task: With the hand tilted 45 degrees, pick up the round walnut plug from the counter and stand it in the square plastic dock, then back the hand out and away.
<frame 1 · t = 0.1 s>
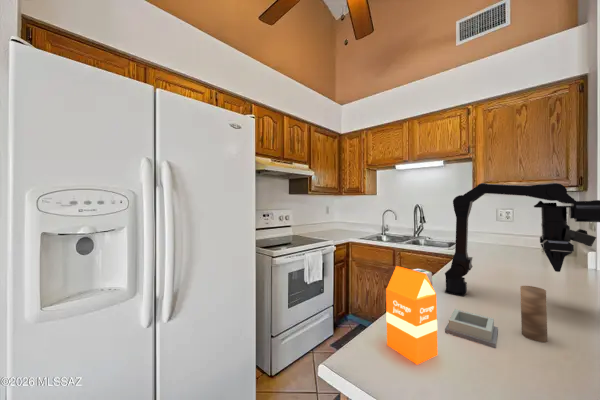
hand: (555, 268, 78), 15 cm above the countertop, tool pointing down, fingers open, 9 cm apart
walnut plug: (534, 336, 64), on the countertop
dock: (471, 331, 67), on the countertop
orange juice: (411, 350, 59), on the countertop
syrup box: (419, 315, 77), on the countertop
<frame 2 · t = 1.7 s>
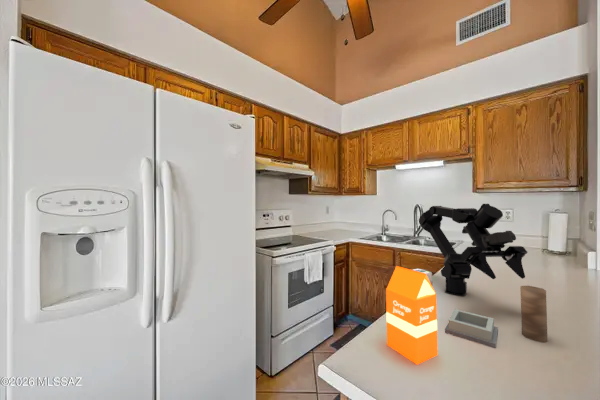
hand: (509, 278, 73), 13 cm above the countertop, tool tilted 45°, fingers open, 9 cm apart
nothing on the countertop moved.
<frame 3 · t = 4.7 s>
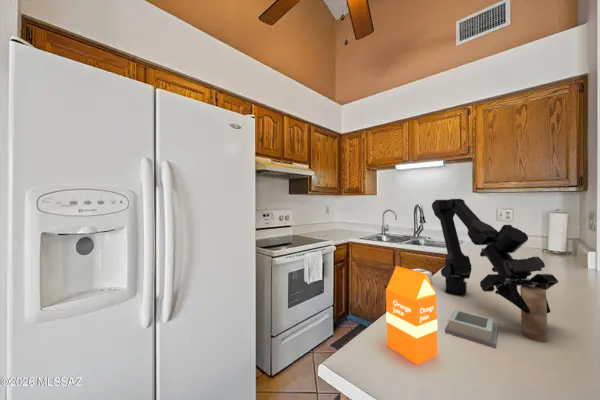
hand: (538, 312, 63), 7 cm above the countertop, tool tilted 45°, fingers closed on walnut plug, 5 cm apart
walnut plug: (534, 336, 64), on the countertop, touching gripper
everything else where it was.
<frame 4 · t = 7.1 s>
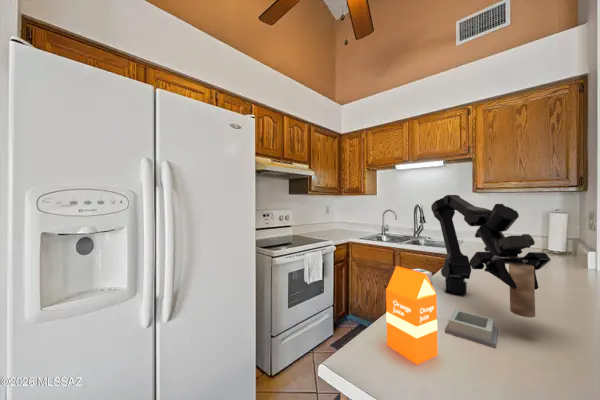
hand: (525, 288, 63), 14 cm above the countertop, tool tilted 45°, fingers closed on walnut plug, 5 cm apart
walnut plug: (522, 313, 64), point 6 cm above the countertop, touching gripper
everything else where it was.
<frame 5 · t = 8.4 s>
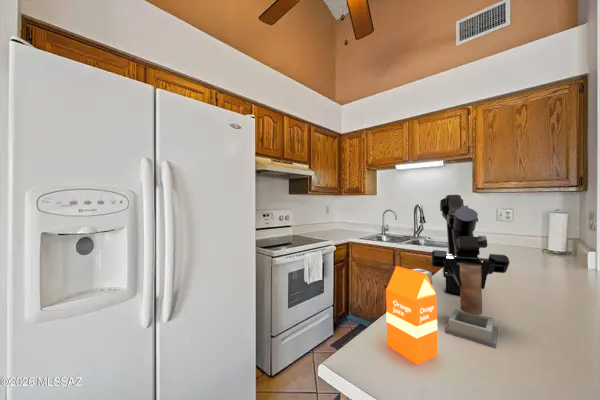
hand: (471, 287, 66), 13 cm above the countertop, tool tilted 45°, fingers closed on walnut plug, 5 cm apart
walnut plug: (471, 310, 67), point 6 cm above the countertop, touching gripper
everything else where it was.
when the fingers open (9 cm above the countertop, at t = 9.7 s): walnut plug stays where it is, resting on dock.
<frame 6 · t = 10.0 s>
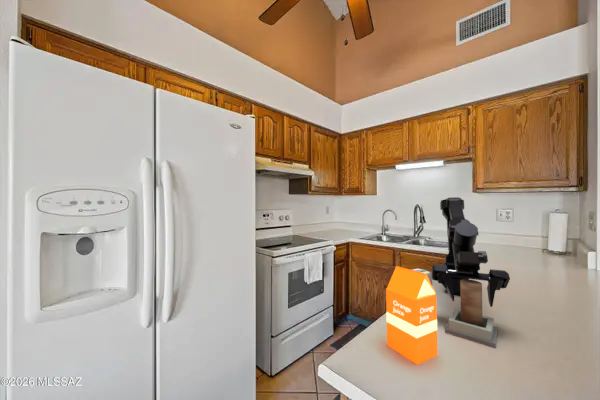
hand: (471, 303, 66), 9 cm above the countertop, tool tilted 45°, fingers open, 8 cm apart
walnut plug: (471, 328, 67), point 1 cm above the countertop, touching dock
everything else where it was.
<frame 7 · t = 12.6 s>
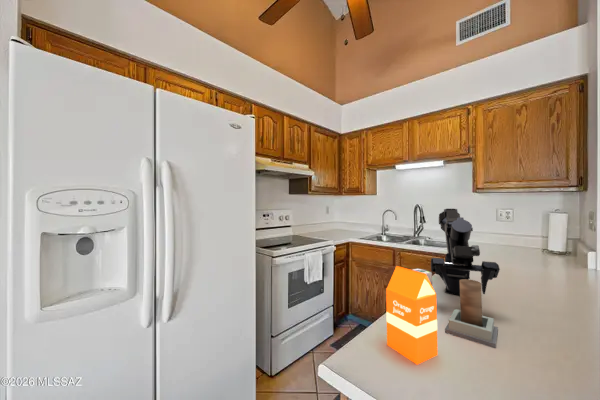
hand: (466, 291, 75), 9 cm above the countertop, tool tilted 45°, fingers open, 9 cm apart
nothing on the countertop moved.
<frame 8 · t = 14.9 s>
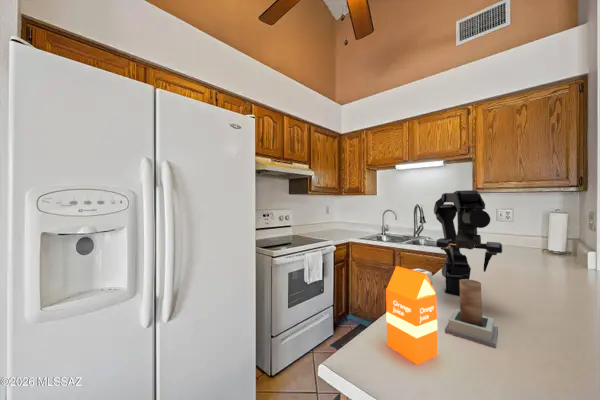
hand: (468, 269, 84), 13 cm above the countertop, tool pointing down, fingers open, 9 cm apart
nothing on the countertop moved.
at the end: walnut plug 0.0 cm off-centre on the dock, point 1.0 cm above the dock's base; walnut plug tilted 1°; the gripper is holding nothing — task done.
